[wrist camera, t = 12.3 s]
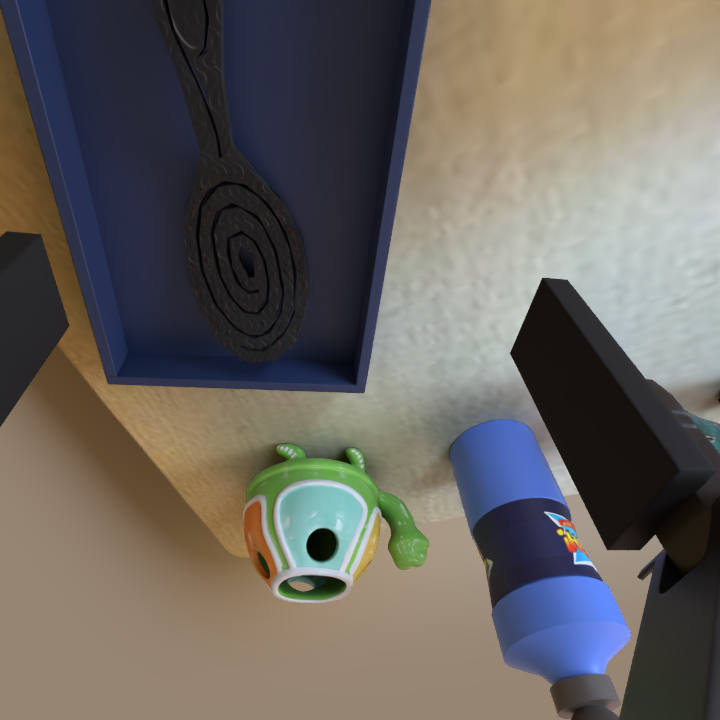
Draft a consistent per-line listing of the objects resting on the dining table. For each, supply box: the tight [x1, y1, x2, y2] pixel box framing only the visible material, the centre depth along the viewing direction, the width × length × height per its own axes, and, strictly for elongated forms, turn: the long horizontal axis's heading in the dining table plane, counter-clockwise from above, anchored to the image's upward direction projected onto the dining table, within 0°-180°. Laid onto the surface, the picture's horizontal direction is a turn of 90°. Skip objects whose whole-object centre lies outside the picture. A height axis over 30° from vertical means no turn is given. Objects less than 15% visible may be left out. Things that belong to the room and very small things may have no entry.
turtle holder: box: [243, 444, 429, 604], centre depth 46 cm, size 12×18×12 cm
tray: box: [0, 0, 431, 393], centre depth 29 cm, size 31×20×4 cm, turn 173°
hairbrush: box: [152, 0, 309, 365], centre depth 29 cm, size 8×4×25 cm
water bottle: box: [450, 420, 631, 720], centre depth 40 cm, size 9×9×25 cm
